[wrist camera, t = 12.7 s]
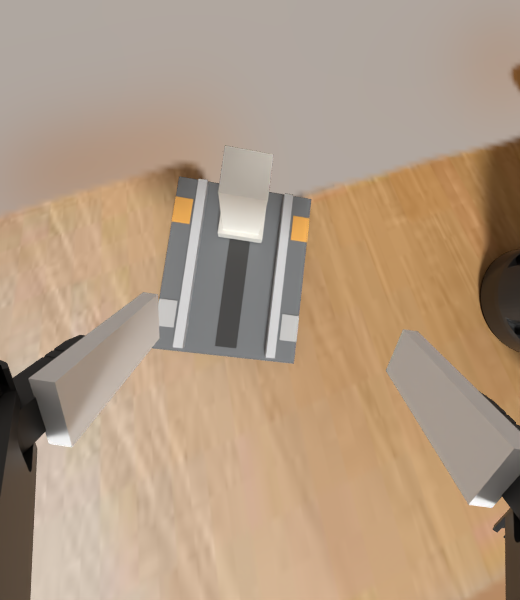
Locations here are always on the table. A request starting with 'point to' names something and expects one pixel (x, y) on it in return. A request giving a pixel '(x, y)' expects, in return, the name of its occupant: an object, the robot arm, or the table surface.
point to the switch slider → (244, 193)
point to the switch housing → (232, 279)
